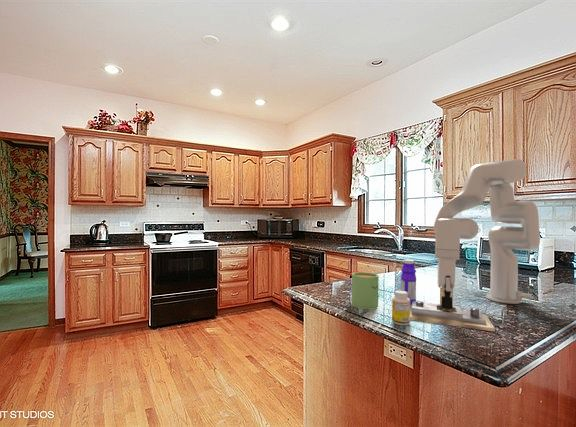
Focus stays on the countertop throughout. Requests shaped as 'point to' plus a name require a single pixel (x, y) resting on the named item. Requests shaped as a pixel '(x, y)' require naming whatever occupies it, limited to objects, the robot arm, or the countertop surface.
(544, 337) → the countertop surface
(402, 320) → the supplement bottle
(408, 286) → the bottle
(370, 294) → the mug
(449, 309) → the pin
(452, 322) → the board
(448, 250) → the robot arm
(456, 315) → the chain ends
